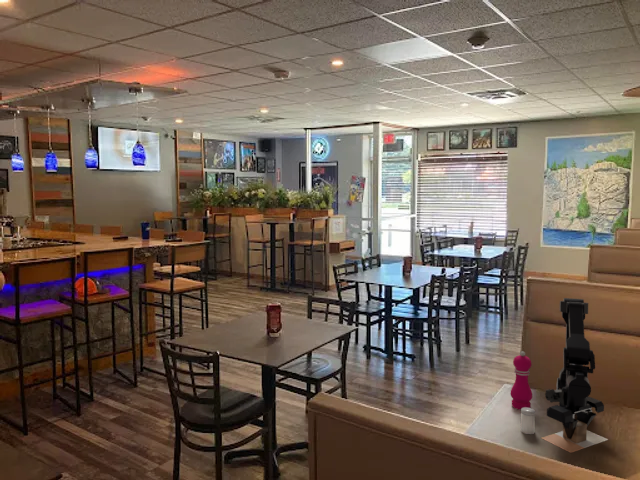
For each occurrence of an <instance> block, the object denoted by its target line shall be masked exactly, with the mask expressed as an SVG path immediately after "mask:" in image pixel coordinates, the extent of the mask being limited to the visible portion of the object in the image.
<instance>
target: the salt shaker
mask: <svg viewBox="0 0 640 480" xmlns="http://www.w3.org/2000/svg"><path fill="white" fill-rule="evenodd" d="M535 423H536V410H535V409H534V408H527V407H524V408H521V410H520V432H521V433H523V434H526V435H534V434H535V430H536V429H535V427H536V426H535V425H536V424H535Z"/></svg>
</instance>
